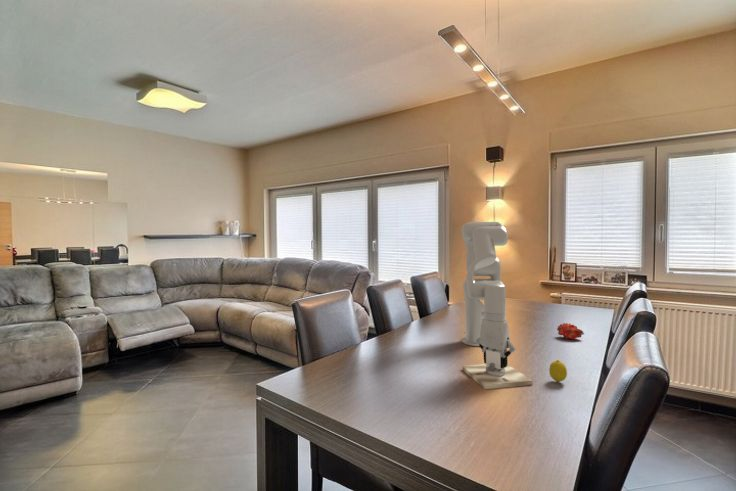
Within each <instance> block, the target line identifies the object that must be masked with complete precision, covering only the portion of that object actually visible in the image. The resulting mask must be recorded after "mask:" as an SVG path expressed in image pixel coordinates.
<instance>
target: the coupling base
mask: <svg viewBox="0 0 736 491" xmlns="http://www.w3.org/2000/svg"><path fill="white" fill-rule="evenodd" d="M461 368H462V369H461V370H462V371H463V372H465V374H467V375H468V377H470V378H471V379H472V380H474V381H475V382H476V383H477V384H478V385H479V386H481V387H482V389H484V390H492V389H502V388H513V387H522V386H523V387H524V386H533V382H534V381H533V380H532V379H531V378H529V377H528V376H526V375H525V374H523V373H522V372H520V371H518V370H517V369H516V368H514V367H513V366H510V365H509V363H507V367H505V368H503V369H502V368H501V369H498V368H494V369H490V368H489V367H488V366H486V364H485V363H482V364H472V365H471V364H470V365H469V364H468V365H462V366H461Z"/></svg>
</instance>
